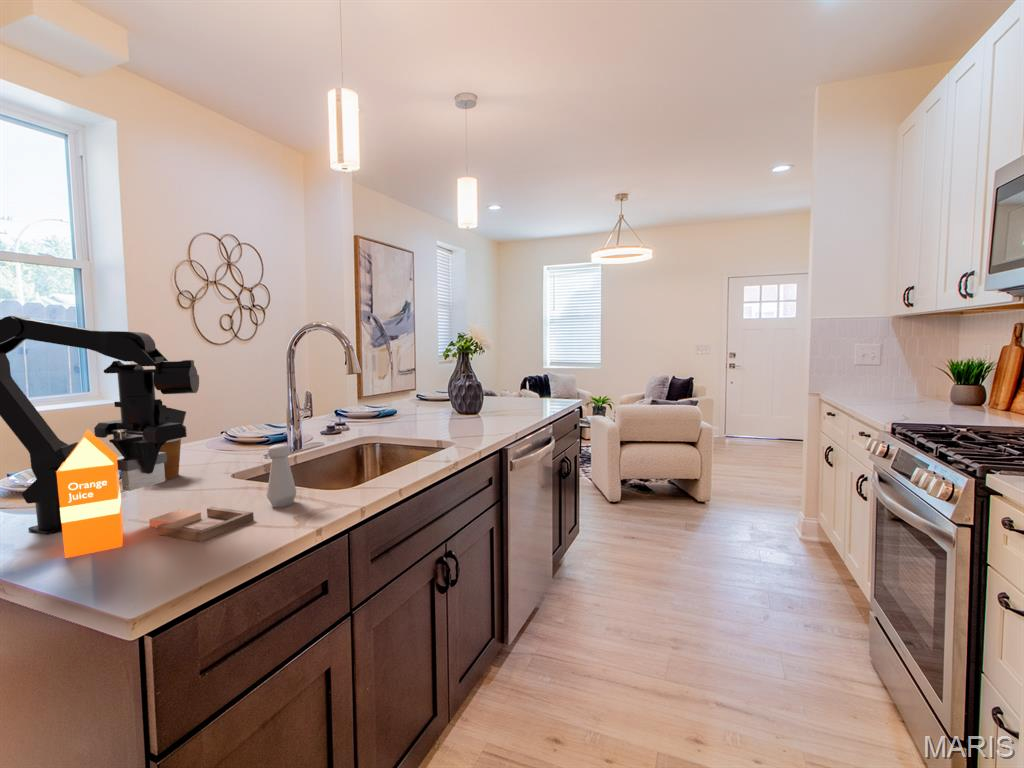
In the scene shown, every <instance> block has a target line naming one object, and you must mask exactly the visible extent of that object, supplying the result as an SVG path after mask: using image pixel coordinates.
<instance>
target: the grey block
mask: <svg viewBox="0 0 1024 768" xmlns="http://www.w3.org/2000/svg"><path fill="white" fill-rule="evenodd" d="M165 462H167V455H166V453H165V452H159V454H158V457H157V460H156V463H155V466H154V470H153V472H152V473H150V474H146V473H145V471H144V469H143V467H142V464H141V462H140V459H139V457H138V456H133V457H128V458H124V457H123V458H120V459H117V464H118V471H120V474H121V475H120V476H121V483H122V491H128V492H130V491H135V490H138V489H142V488H145V487H149V486H152V485H153V486H154V485H156V484H161V483H163V482H166V480H165V470H164V463H165Z"/></svg>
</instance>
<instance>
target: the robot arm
mask: <svg viewBox="0 0 1024 768" xmlns="http://www.w3.org/2000/svg"><path fill="white" fill-rule="evenodd" d="M26 340H30V341H35V342H37V341H38V342H43V343H49V344H55V345H60V346H61V345H62V346H68V347H73V348H78V349H79V348H80V349H86V350H90V351H93V352H97V353H99V354H101V355H102V356H103V355H104V356H106V357H109V358H113V359H115V360H113V361H112V362H111V364H110V365H108V366H107V367H106V368H105V369H104V370H103V373H104V374H117V384H118V396H119V401H114V403H113V404H114V407H115V408H120V419H117V420H108V421H102V422H98V423H97V424H96V426H94V427H93V429H94V435H95V436H96V437H97V438H102V439H104V438H105V439H106V438H107V437H108V436H110V435H112V439H109V440H108V441H109V443H111V444H112V445H113V446H114V447H115V448H116V450H117V451H118V452H119V453H120V455H121V456H122V457H123V459H124V458H128V457H133V456H138V457H139V459H140V462H141V464H142V467H143V469H144V471H145V473H146V474H150V473H152V472H153V470H154V466H155V463H156V460H157V457H158V454H159V451H160V449H161V447H162V445H164V444H165V443H166V442H167V441H169V440H173V439H178V438H182V439H183V438H186V437H188V435H187V434H188V433H187V426H185V425H184V422H185V419H186V414H187V411H184V410H181V409H177V408H171V407H168V406H167V405H165V404H163V401H162V400H161V398H156V391H155V390H157V391H160V392H161V394H162V395H178V394H179V395H181V394H182V395H184V394H197V393H198V391H199V387H200V375H199V374H198V370H197V367H196V366H195V360H193V359H185V360H171V361H170V360H168V359H167V358H166V356H164V355H163V354H162V353H161V352H160V350H159V349H158V348H157V347H156V343H155V340H154V338H153V337H152V336H151V335H149V333H145V332H140V331H117V330H115V331H114V330H113V331H110V330H95V329H90V328H89V329H88V328H83V327H77V326H72V325H66V324H60V323H56V322H55V323H54V322H49V321H42V320H37V319H33V318H29V317H28V316H16V315H15V316H14V315H13V316H12V315H11V316H10V315H8V316H5V317H3V318H0V418H1V419H2V420H3V421H4V422H5V424H6V425H7V426H8V427H9V429H10V430H11V432H12V433H13V434H14V435H15V437H16V438H17V439H18V440H19V442H20V443H21V444H22V445H23V447H24V448H25V449H26V451H27V452H28V455H29V459H30V469H31V471H32V473H33V475H34V477H35V480H34V481H33V482H32V484H29V486H28V487H27V488H26V489H25V490H24V491H22V493H21V496H22V498H23V499H24V501H25V502H26V504H35V512H36V513H35V514H36V522H37V524H35V525H33V526H30V527H28V529H27V530H28V531H30V532H35V533H41V534H46V535H50V534H54V533H57V532H60V531H62V523H61V516H60V502H59V492H58V483H57V473H56V472H57V470H58V469H59V468H60V466H61V465H62V463H63V462H66V461H65V460H66V459H67V458H69V457H68V456H69V455H70V454H72V453H73V452H72V451H73V450H75V449H76V448H75V447H76V446H78V445H79V444H80V443H79V442H73V443H70V444H68V443H66V442H64V441H62V440H61V439H60V438H59V437H58V436H57V434H56V433H55V431H53V430H52V428H51V427H50V426H49V423H47V421H45V419H44V418H43V416H42V415H41V414H40V412H39V411H38V410H37V409H36V407H35V406H34V405H33V404H32V402H31V400H29V398H28V397H27V395H26V394H25V393H24V392H23V391H22V389H21V387H20V386H19V385H18V384H17V383H16V381H15V379H14V378H13V377H12V374H11V365H10V364H11V363H10V359H9V358H8V356H7V354H9V353H11V352H12V351H14V350H16V349H17V348H18V347H19V346H20V345H21V344H22V343H23V342H24V341H26ZM123 362H133V363H134V364H133V363H132V364H131V363H129V364H128V363H127V364H124V363H123ZM144 367H154V368H144ZM78 443H79V444H78ZM77 444H78V445H77ZM74 448H75V449H74ZM71 452H72V453H71Z"/></svg>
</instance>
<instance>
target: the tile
mask: <svg viewBox="0 0 1024 768" xmlns="http://www.w3.org/2000/svg"><path fill="white" fill-rule="evenodd" d="M201 513H202V512H201V511H194V510H184V509H176V510H174V511H171V512H168V513H164V514H161V515H158V516H156V517H152V518H150V519H149V527H151V528H152V527H153V528H157V526H159V525H162V524H168V525H174V526H181V527H184V526H185V525H187V524H191V523H194V522H197V521H199V520H201V519H202V514H201Z"/></svg>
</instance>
